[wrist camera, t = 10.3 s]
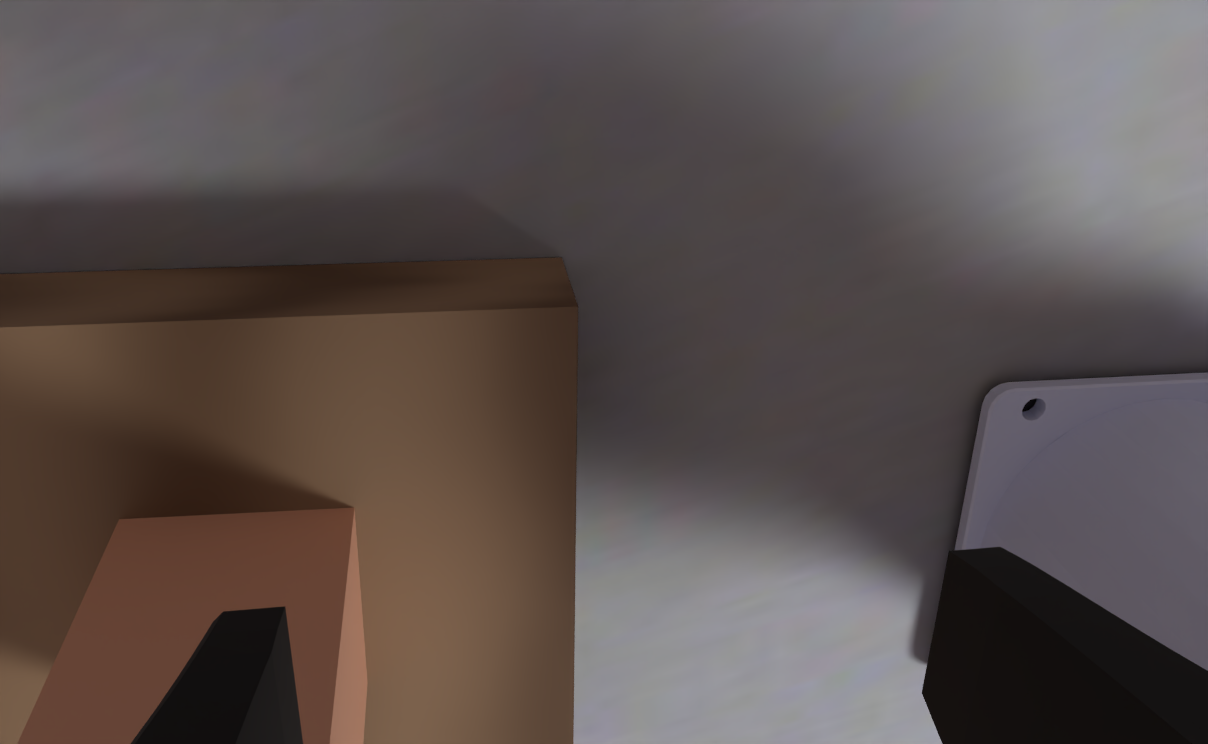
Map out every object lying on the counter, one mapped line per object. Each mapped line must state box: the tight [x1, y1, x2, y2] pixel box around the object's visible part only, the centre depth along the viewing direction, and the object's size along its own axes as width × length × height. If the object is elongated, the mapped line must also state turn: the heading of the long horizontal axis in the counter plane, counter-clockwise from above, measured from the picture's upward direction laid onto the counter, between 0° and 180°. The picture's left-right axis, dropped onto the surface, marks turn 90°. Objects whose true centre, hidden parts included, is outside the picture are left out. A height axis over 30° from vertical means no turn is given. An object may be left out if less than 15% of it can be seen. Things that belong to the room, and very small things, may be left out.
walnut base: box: [0, 257, 578, 744], centre depth 21 cm, size 12×12×2 cm
